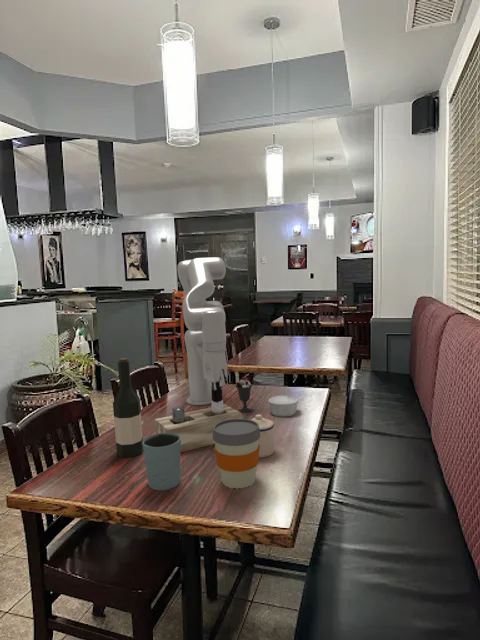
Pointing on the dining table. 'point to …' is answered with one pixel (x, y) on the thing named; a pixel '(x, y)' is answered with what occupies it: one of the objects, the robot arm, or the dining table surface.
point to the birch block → (195, 426)
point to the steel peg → (217, 407)
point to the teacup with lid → (265, 436)
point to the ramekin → (283, 405)
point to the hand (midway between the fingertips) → (217, 400)
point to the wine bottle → (127, 415)
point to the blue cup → (162, 460)
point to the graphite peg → (178, 415)
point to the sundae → (244, 392)
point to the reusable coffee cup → (237, 451)
